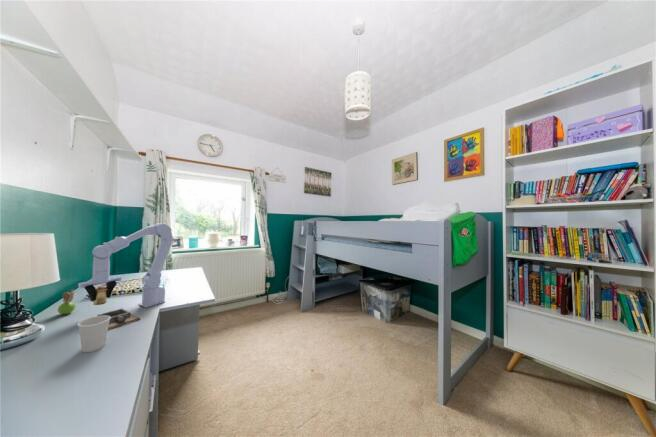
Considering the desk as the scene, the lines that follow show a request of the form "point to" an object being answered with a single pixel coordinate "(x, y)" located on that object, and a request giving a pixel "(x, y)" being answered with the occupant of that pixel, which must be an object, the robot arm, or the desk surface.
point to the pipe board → (128, 320)
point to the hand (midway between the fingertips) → (100, 299)
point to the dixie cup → (93, 332)
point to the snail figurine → (67, 303)
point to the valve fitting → (100, 295)
